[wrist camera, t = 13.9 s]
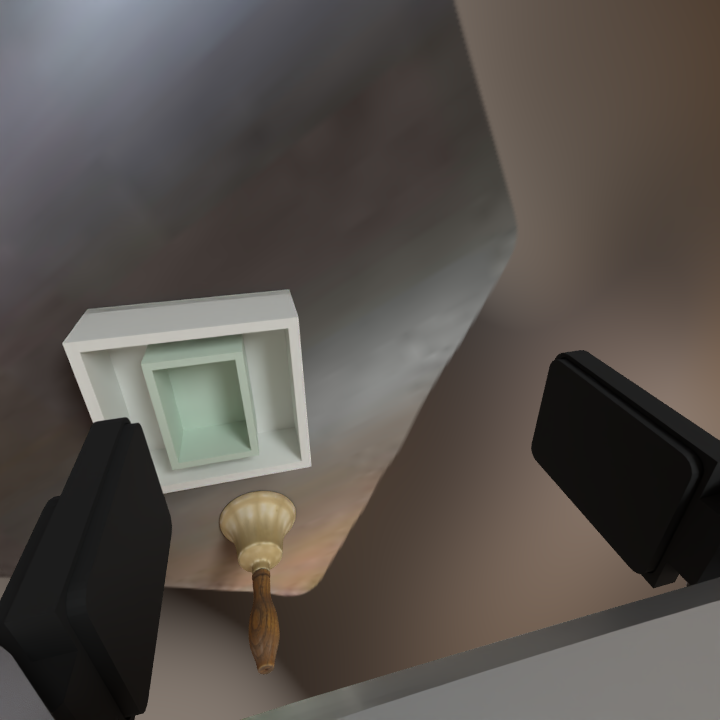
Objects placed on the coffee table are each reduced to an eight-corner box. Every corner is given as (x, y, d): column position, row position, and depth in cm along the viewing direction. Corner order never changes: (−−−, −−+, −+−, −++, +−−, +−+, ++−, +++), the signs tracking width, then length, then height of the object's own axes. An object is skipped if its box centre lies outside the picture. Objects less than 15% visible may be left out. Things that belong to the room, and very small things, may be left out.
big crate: (87, 309, 34) (62, 343, 29) (289, 289, 37) (298, 317, 32) (136, 453, 41) (123, 501, 36) (302, 426, 45) (311, 466, 40)
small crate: (151, 334, 35) (140, 364, 31) (241, 324, 37) (242, 351, 33) (178, 432, 40) (172, 470, 36) (256, 420, 42) (259, 454, 38)
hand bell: (211, 542, 49) (204, 704, 36) (229, 486, 46) (229, 641, 33) (283, 545, 52) (301, 695, 39) (305, 493, 49) (333, 637, 36)
